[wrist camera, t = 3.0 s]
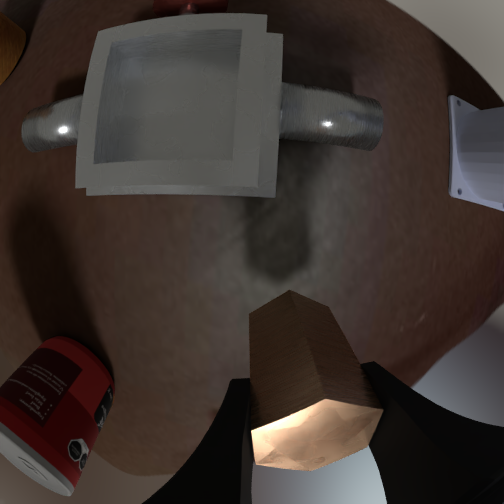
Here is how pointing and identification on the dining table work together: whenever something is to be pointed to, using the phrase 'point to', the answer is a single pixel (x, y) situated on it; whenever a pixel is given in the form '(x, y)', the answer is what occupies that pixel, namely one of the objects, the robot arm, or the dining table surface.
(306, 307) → the wooden hexagonal prism
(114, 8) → the dining table surface
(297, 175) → the dining table surface
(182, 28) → the valve body
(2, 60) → the disposable coffee cup
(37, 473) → the canned food
